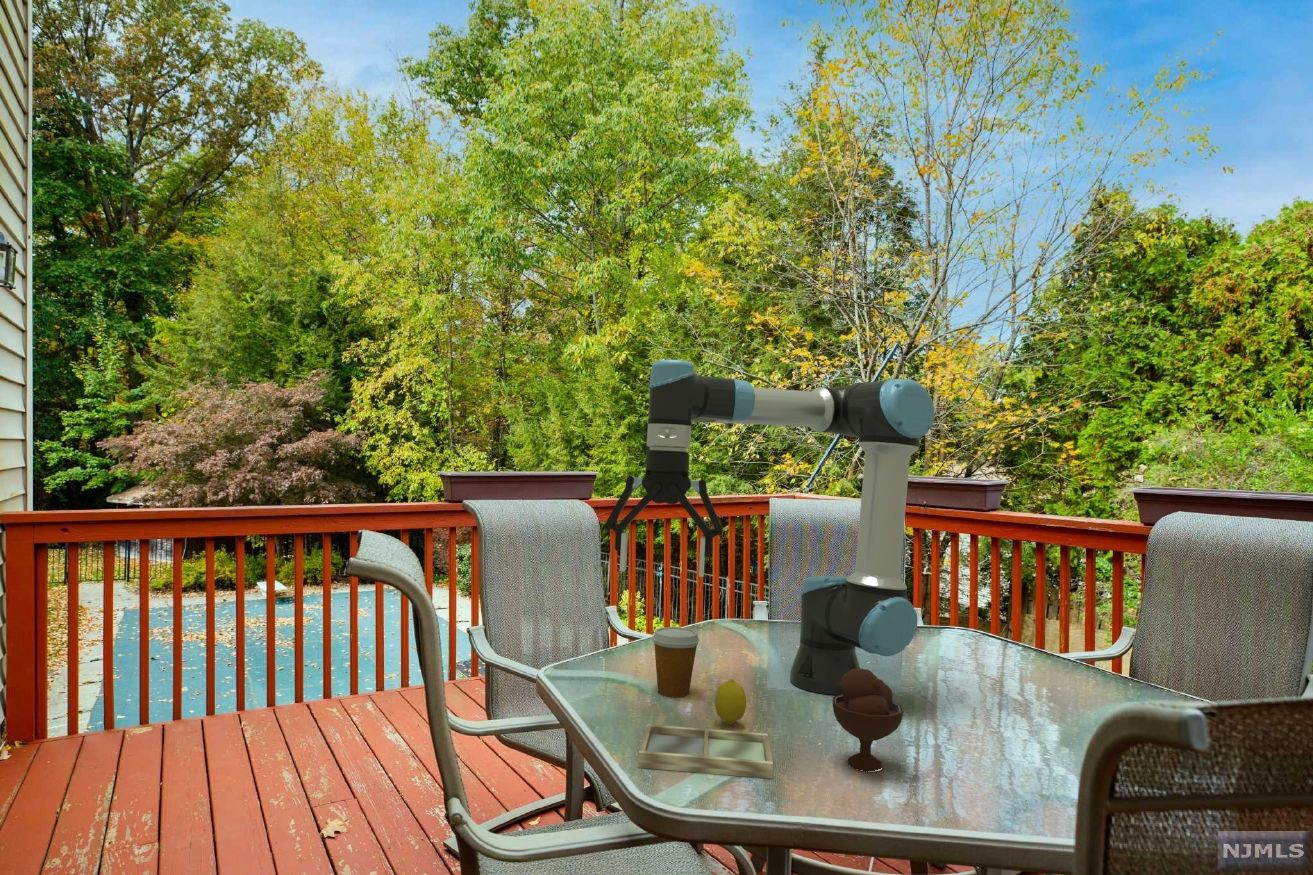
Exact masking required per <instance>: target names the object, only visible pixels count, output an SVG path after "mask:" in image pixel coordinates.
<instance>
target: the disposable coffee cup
mask: <svg viewBox="0 0 1313 875" xmlns="http://www.w3.org/2000/svg"><path fill="white" fill-rule="evenodd" d="M698 636H699V635H698V631H696V630H694V629H691V628H685V627H678V626H677V627H675V626H668V627H667V626H666V627H659V628H656V629H655V630H654V633H653V635H652V636H651V637H652V638H651V639H652V640H653V641H652V642H653V644H654V656H655V658H654V659H655V670H656V671H655V672H656V682H657V686H656V687H657V692H658V694H660V695H661V696H665V697H670V698H682V697H686V696H688V695H689V694H690V689H691V683H692V678H693V670H694V665H695V658H696V653H697V647H698V645H699V642H700V638H699V637H698Z"/></svg>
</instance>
